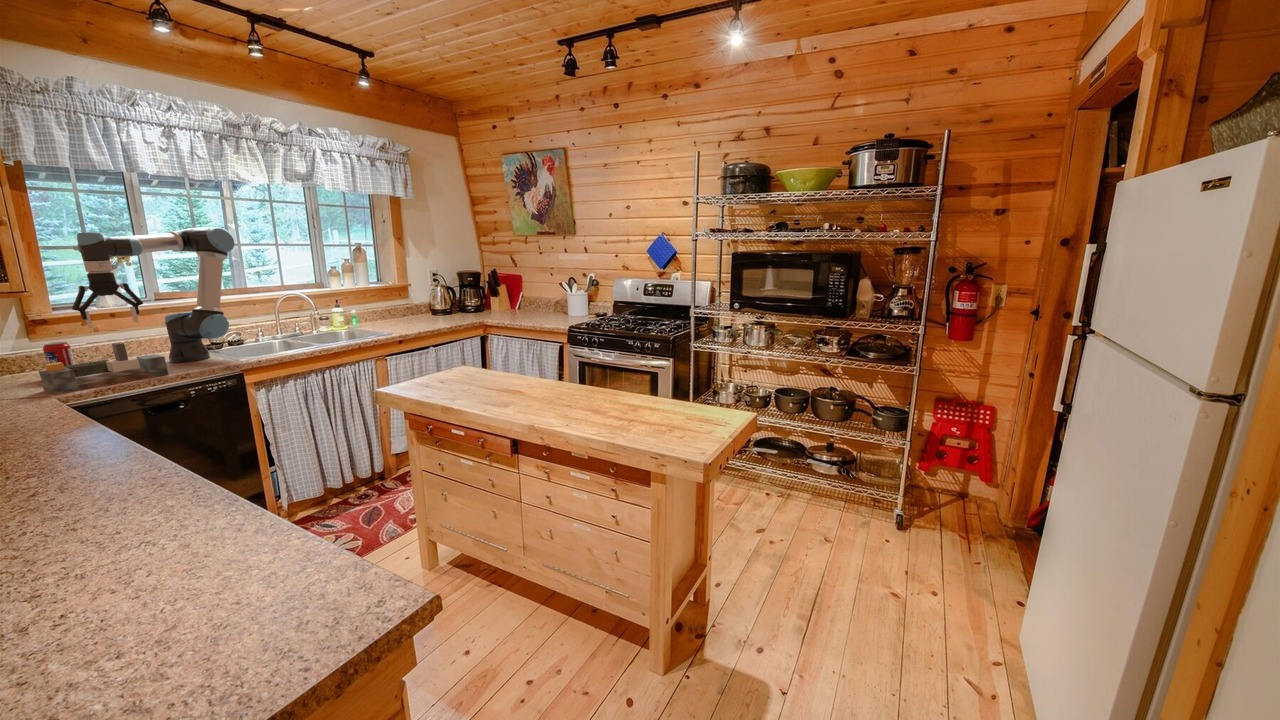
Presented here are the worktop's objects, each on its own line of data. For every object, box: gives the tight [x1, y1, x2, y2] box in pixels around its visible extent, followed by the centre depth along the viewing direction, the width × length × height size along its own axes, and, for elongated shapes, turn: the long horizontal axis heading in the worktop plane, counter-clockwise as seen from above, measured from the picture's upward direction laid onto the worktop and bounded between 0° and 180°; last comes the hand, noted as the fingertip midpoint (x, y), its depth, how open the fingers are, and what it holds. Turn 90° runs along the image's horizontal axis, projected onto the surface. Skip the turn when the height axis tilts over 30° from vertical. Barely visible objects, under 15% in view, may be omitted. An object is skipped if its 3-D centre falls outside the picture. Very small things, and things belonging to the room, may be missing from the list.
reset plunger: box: [44, 362, 65, 372], centre depth 194 cm, size 4×4×4 cm
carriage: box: [106, 341, 140, 372], centre depth 209 cm, size 8×7×11 cm
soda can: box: [42, 341, 76, 366], centre depth 217 cm, size 8×8×15 cm
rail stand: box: [38, 353, 169, 396], centre depth 206 cm, size 34×11×8 cm, turn 150°
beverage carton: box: [64, 359, 111, 377], centre depth 215 cm, size 8×19×7 cm, turn 148°
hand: (114, 325), depth 207 cm, fingers open, 13 cm apart
